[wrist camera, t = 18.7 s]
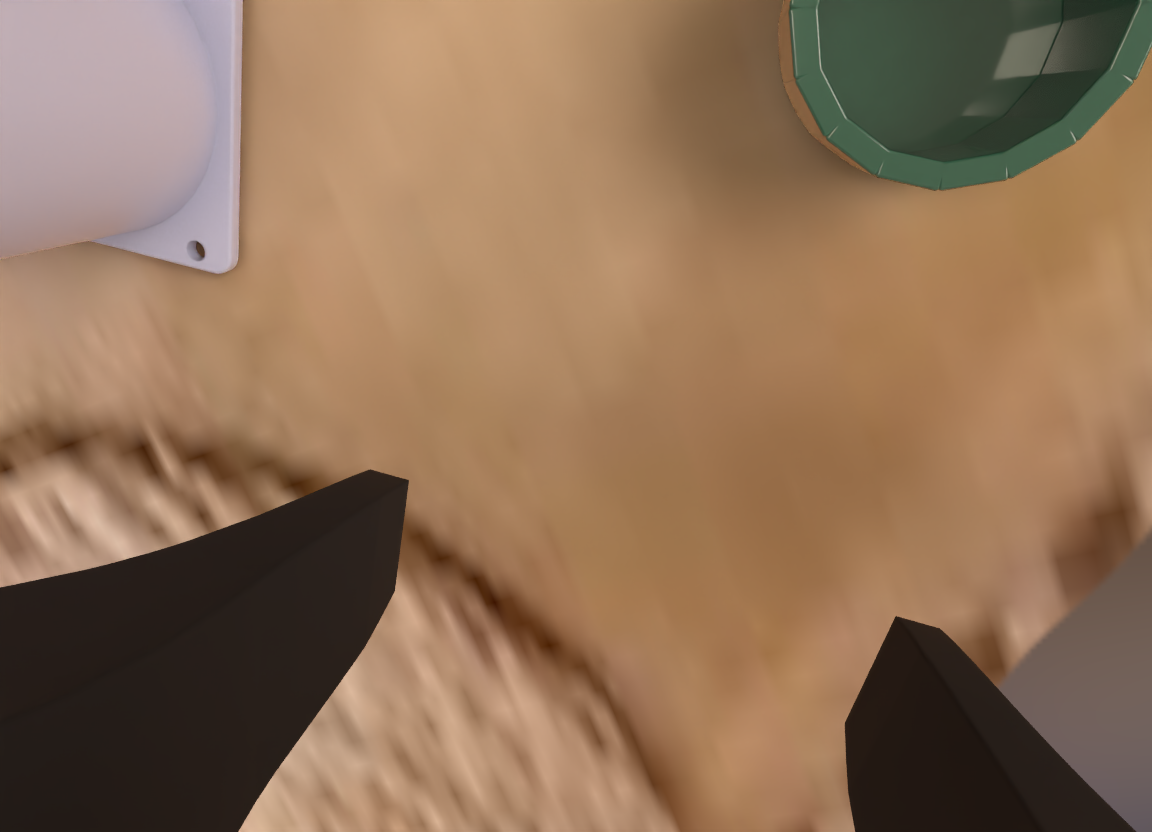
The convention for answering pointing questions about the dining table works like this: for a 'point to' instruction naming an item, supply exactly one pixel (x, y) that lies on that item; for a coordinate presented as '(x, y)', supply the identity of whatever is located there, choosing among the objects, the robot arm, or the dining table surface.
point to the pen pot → (957, 80)
